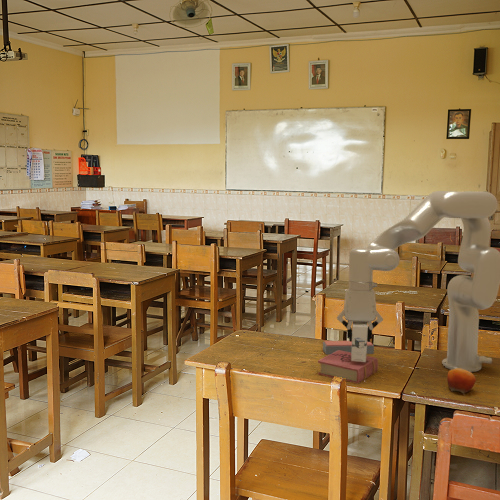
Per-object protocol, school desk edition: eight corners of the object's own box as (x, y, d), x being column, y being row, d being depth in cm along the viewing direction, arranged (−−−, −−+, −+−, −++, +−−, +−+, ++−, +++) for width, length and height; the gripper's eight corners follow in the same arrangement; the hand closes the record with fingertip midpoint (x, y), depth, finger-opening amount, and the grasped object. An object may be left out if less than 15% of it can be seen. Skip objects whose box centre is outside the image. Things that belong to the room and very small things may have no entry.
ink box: (351, 353, 181) (352, 319, 180) (366, 354, 180) (367, 320, 179) (351, 361, 173) (351, 325, 172) (367, 362, 172) (367, 326, 171)
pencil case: (369, 348, 206) (369, 340, 205) (373, 353, 200) (374, 344, 199) (322, 349, 205) (322, 340, 204) (325, 354, 199) (325, 345, 198)
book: (360, 385, 169) (360, 370, 168) (317, 375, 178) (318, 360, 177) (378, 372, 180) (379, 358, 180) (338, 363, 189) (338, 350, 189)
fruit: (442, 389, 161) (446, 363, 163) (447, 395, 167) (451, 370, 170) (470, 395, 156) (474, 368, 159) (474, 400, 162) (478, 375, 165)
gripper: (386, 284, 176) (384, 338, 179) (333, 283, 179) (332, 336, 181) (388, 288, 169) (387, 344, 171) (334, 287, 171) (333, 343, 173)
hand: (359, 340), depth 176 cm, fingers closed on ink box, 5 cm apart
